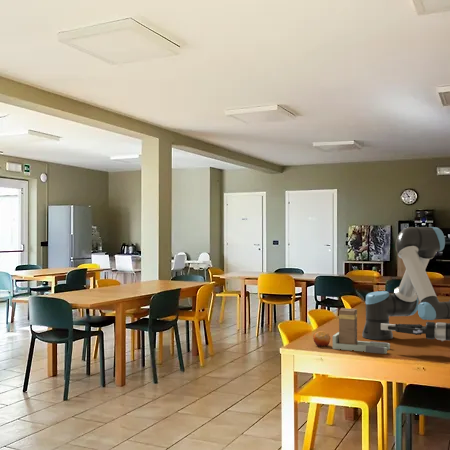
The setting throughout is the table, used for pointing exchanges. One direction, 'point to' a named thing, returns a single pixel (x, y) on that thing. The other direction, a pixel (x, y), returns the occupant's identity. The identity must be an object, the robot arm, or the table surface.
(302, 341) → the table surface
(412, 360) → the table surface
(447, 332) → the robot arm
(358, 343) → the chute
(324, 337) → the fruit
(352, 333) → the block
